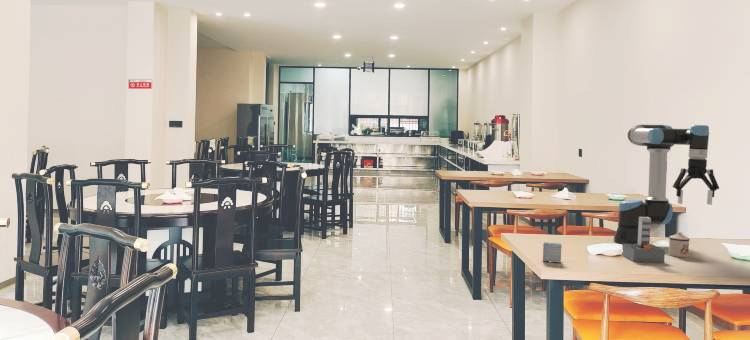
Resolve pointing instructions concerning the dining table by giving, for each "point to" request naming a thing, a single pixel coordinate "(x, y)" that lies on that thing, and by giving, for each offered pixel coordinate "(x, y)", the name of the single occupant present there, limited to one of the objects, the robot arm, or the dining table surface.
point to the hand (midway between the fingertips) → (694, 204)
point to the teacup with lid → (678, 245)
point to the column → (644, 231)
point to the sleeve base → (643, 253)
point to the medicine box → (552, 252)
